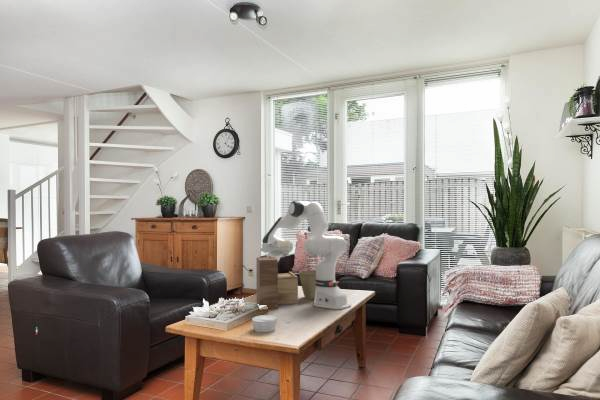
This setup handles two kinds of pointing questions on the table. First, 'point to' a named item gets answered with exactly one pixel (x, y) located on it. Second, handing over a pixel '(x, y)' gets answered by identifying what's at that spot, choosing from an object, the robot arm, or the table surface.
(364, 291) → the table surface
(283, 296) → the stand
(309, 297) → the plant pot
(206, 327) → the table surface
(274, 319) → the ramekin
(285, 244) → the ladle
